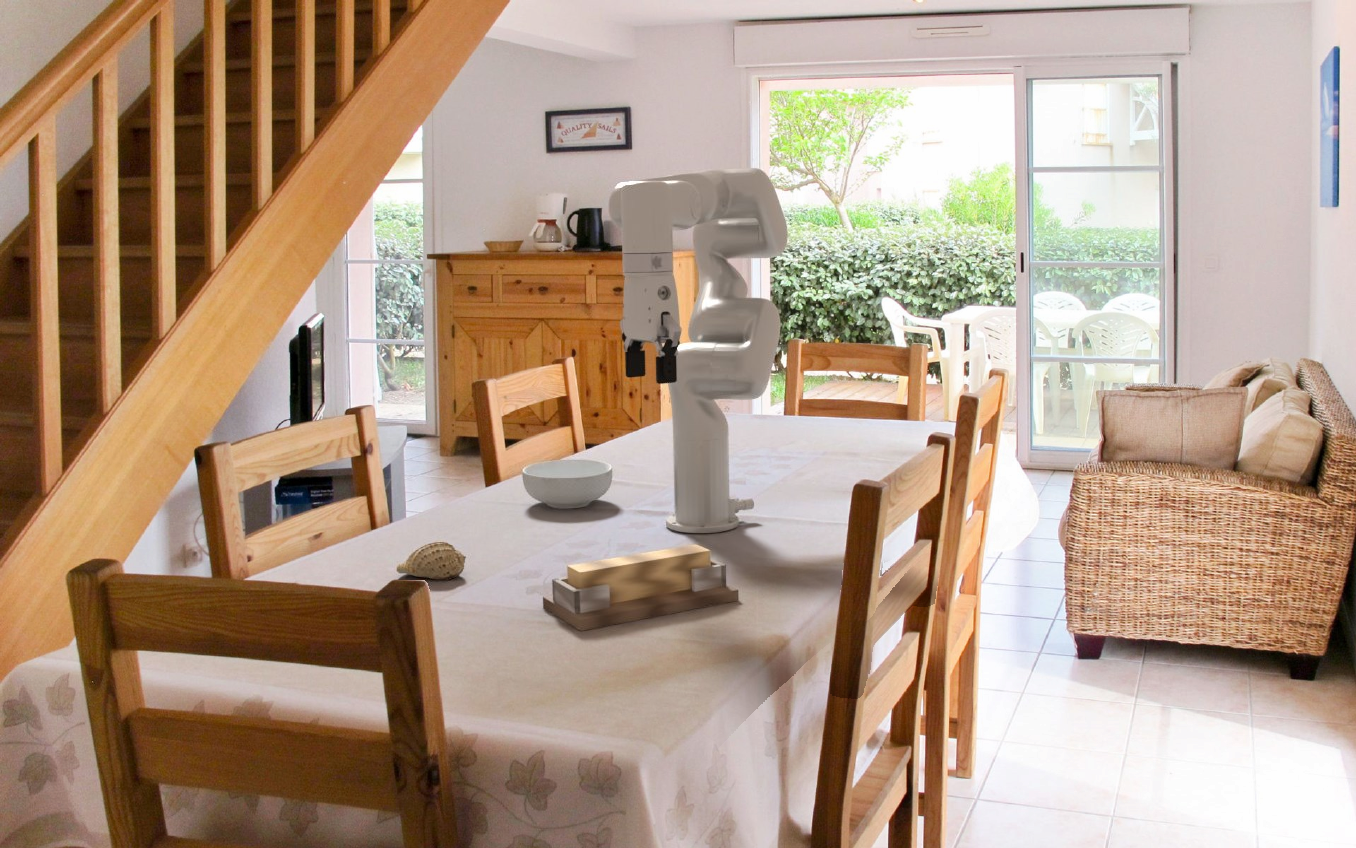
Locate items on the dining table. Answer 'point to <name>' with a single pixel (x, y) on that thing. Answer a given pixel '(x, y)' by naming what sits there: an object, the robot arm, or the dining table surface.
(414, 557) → the seashell
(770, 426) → the dining table surface
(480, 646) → the dining table surface
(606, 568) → the slat
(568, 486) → the cereal bowl
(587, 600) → the endcap base
